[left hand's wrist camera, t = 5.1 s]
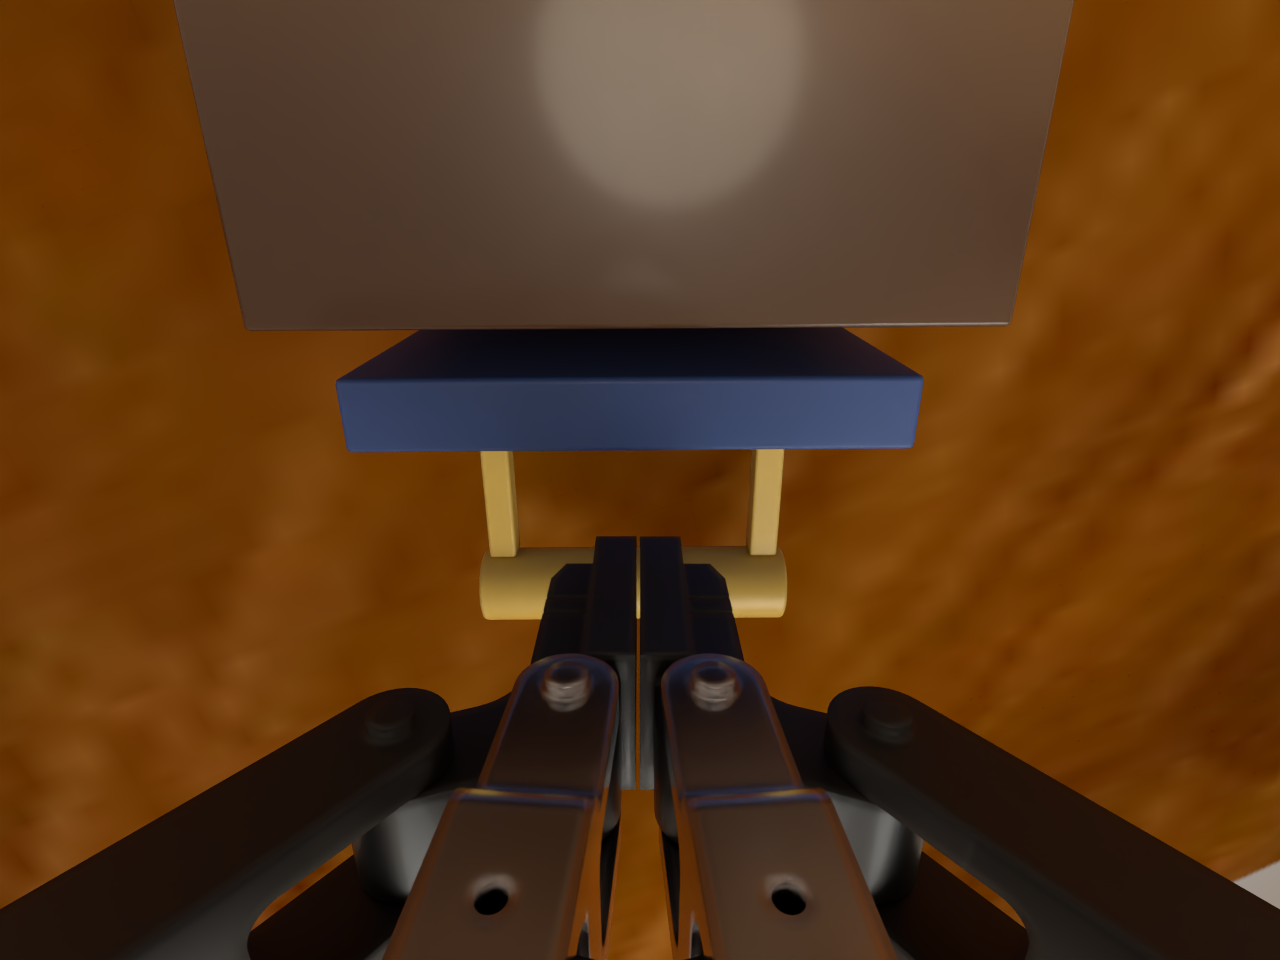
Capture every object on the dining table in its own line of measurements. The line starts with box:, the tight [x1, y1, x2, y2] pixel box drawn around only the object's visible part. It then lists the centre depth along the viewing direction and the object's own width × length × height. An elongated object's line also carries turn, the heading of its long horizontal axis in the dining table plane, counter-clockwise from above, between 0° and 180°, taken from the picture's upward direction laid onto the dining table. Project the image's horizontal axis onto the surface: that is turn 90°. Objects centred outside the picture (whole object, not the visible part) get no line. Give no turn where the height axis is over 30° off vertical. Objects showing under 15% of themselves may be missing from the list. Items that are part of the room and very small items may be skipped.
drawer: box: [336, 327, 923, 620], centre depth 12 cm, size 23×9×8 cm, turn 0°
